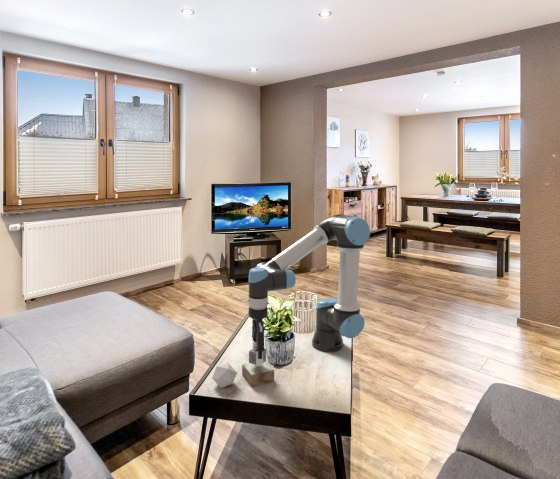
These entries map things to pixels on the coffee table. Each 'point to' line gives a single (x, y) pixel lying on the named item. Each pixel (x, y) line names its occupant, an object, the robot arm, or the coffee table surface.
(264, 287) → the robot arm
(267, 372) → the walnut base
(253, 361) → the grey cube
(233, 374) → the white faceted polyhedron
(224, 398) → the coffee table surface
